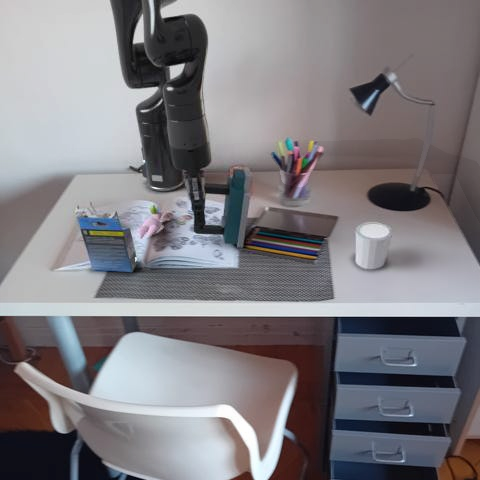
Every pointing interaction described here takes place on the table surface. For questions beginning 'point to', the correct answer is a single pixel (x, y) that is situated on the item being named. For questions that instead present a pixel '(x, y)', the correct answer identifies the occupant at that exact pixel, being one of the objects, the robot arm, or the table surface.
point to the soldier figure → (94, 213)
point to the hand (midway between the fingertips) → (200, 221)
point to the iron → (231, 207)
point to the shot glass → (372, 244)
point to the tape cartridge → (108, 244)
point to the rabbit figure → (151, 224)
